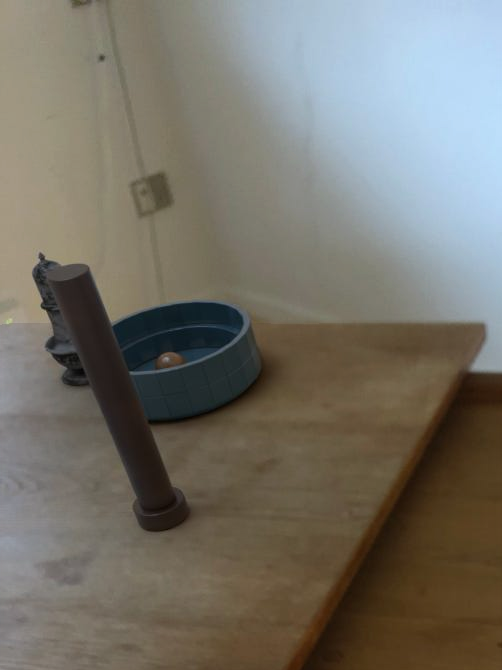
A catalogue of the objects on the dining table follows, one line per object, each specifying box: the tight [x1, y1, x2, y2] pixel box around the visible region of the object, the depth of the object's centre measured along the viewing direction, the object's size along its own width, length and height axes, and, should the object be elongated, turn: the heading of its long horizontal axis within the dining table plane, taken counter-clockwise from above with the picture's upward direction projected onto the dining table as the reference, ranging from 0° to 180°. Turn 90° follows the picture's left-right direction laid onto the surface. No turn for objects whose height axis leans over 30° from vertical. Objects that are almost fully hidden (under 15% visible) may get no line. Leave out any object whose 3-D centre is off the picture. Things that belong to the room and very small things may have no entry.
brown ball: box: [155, 352, 187, 370], centre depth 90 cm, size 3×3×3 cm
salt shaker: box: [31, 251, 90, 387], centre depth 92 cm, size 6×6×12 cm
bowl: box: [111, 299, 263, 422], centre depth 90 cm, size 15×15×5 cm
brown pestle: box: [46, 263, 190, 532], centre depth 69 cm, size 4×4×20 cm
